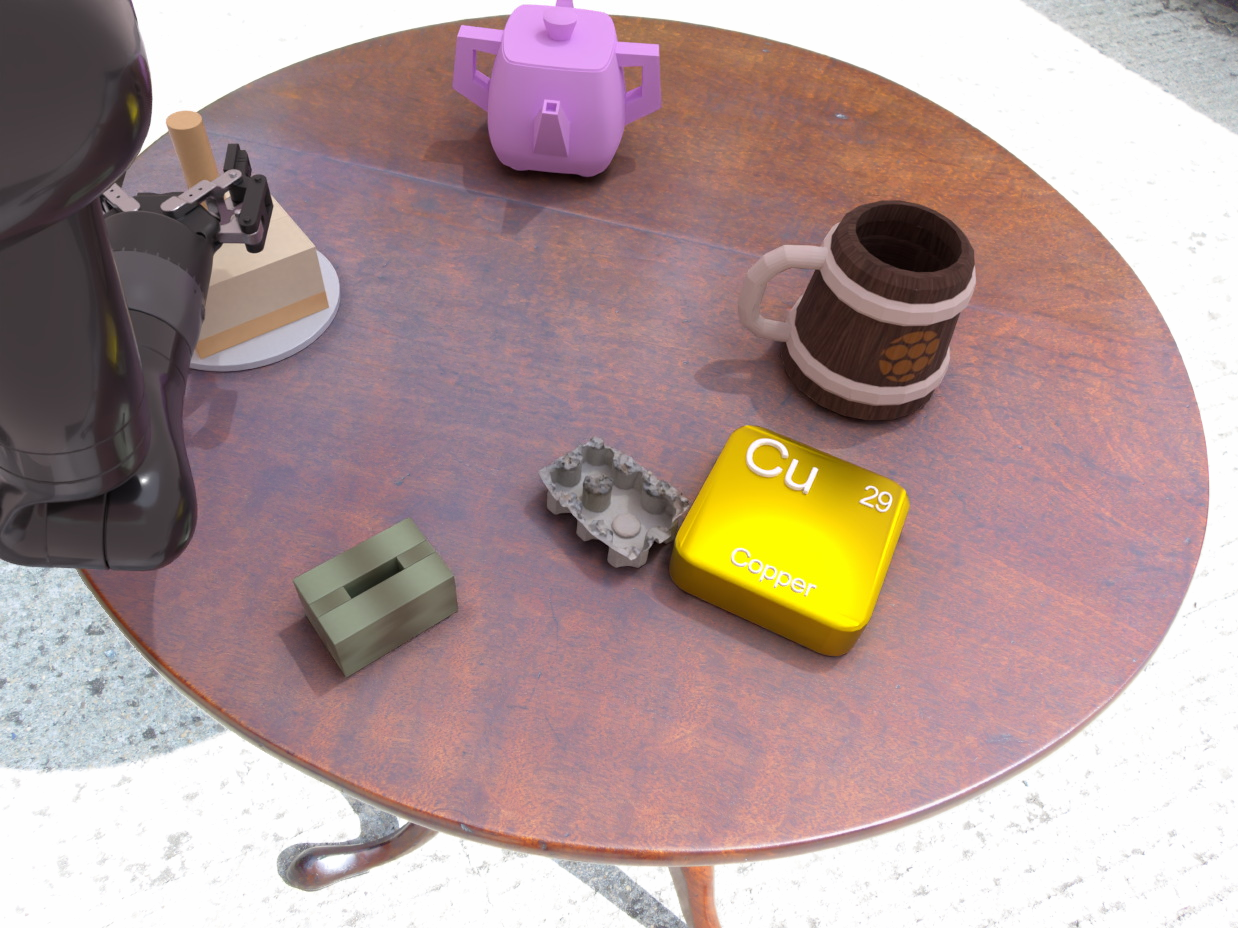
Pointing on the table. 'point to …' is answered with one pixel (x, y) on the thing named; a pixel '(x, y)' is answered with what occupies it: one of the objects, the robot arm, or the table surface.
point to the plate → (278, 334)
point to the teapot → (556, 87)
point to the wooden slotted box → (261, 286)
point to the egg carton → (613, 501)
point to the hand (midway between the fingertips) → (177, 154)
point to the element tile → (790, 539)
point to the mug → (870, 308)
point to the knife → (192, 148)
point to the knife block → (377, 595)
